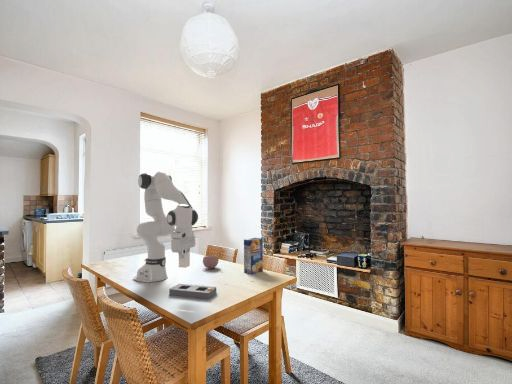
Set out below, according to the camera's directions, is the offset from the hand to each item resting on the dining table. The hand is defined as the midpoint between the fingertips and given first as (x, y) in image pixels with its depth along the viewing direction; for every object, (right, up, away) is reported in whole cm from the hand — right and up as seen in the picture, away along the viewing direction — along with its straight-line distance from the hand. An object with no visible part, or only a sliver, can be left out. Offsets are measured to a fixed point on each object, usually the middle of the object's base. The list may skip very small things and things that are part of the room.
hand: (184, 257), depth 156 cm
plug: (0, -5, 0) cm, 5 cm away
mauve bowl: (+6, -22, +56) cm, 61 cm away
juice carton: (+39, -22, +45) cm, 63 cm away
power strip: (+5, -21, -2) cm, 22 cm away
